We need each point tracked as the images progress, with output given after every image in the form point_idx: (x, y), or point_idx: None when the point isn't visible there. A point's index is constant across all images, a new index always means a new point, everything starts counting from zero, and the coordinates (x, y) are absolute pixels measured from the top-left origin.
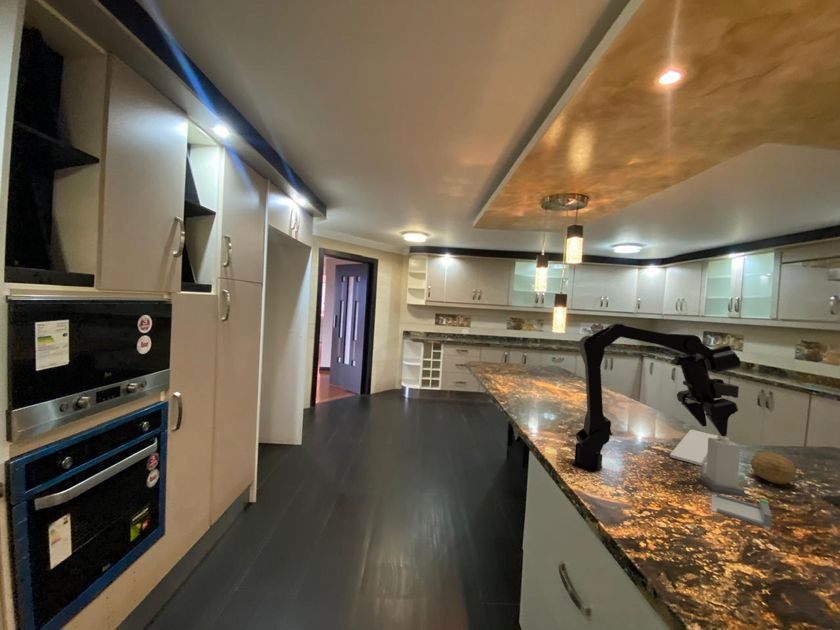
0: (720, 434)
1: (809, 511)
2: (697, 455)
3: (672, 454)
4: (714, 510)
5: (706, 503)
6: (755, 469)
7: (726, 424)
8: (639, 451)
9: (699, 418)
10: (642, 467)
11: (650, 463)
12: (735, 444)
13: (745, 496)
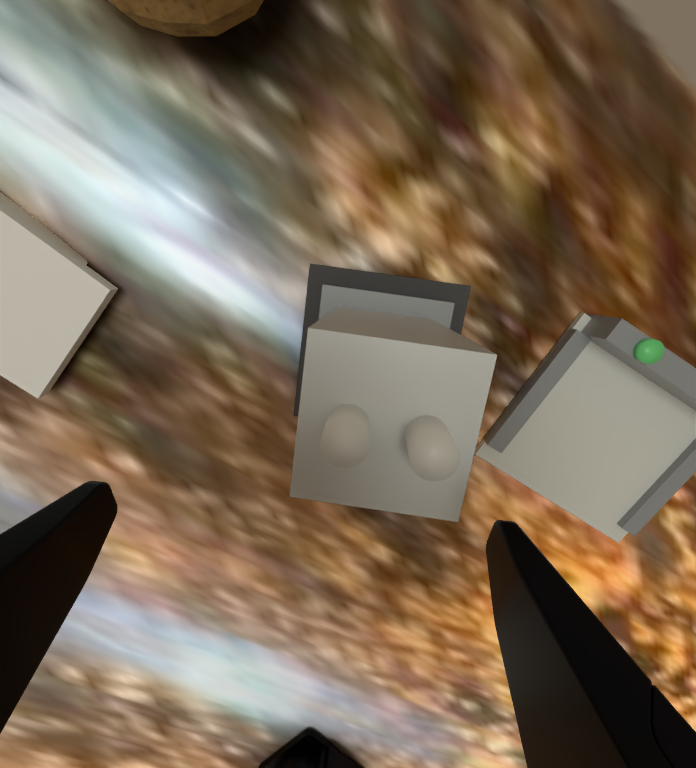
0: (494, 571)
1: (548, 61)
2: (4, 253)
3: (37, 387)
4: (619, 532)
5: (543, 511)
6: (183, 31)
7: (651, 695)
8: (13, 494)
9: (46, 618)
10: (239, 576)
11: (171, 519)
12: (443, 359)
13: (458, 302)
